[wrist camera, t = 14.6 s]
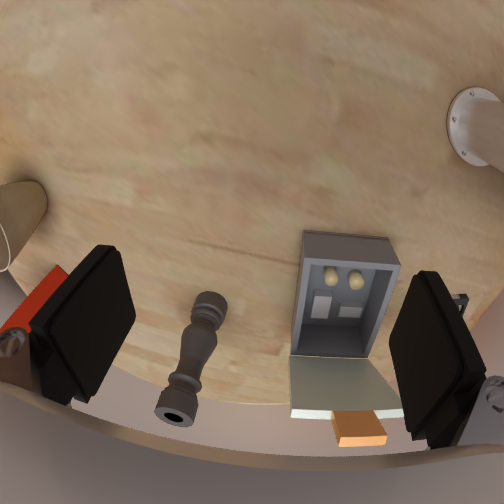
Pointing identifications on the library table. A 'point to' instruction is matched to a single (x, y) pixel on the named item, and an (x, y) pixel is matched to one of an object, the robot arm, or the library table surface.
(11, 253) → the plant pot
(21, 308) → the file binder
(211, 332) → the candle holder
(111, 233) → the library table surface
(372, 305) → the tub
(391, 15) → the library table surface
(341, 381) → the lid
